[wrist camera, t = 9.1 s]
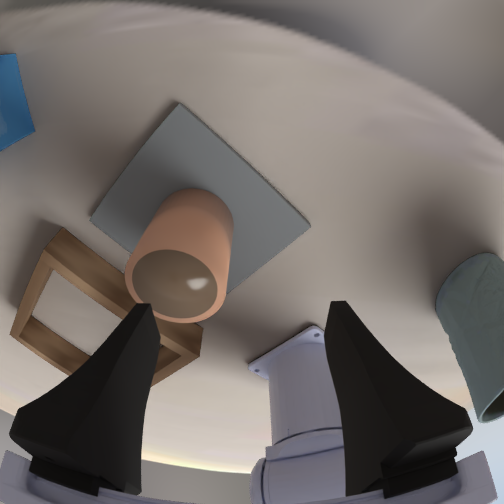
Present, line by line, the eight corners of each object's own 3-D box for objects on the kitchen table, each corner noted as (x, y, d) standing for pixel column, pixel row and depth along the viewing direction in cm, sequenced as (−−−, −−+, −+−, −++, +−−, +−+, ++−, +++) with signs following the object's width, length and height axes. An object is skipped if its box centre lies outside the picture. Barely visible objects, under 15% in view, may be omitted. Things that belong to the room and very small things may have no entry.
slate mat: (309, 223, 20) (311, 226, 20) (208, 304, 24) (208, 308, 24) (180, 102, 16) (179, 103, 15) (91, 216, 20) (88, 220, 19)
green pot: (443, 338, 28) (485, 431, 18) (411, 291, 24) (469, 411, 14) (513, 283, 24) (569, 364, 14) (497, 221, 20) (583, 315, 10)
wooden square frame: (203, 328, 25) (199, 356, 23) (126, 382, 31) (121, 404, 28) (62, 227, 20) (43, 249, 17) (21, 314, 25) (9, 334, 23)
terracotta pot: (250, 229, 20) (248, 293, 15) (195, 269, 21) (178, 335, 16) (194, 172, 18) (168, 221, 12) (141, 221, 19) (106, 280, 14)
